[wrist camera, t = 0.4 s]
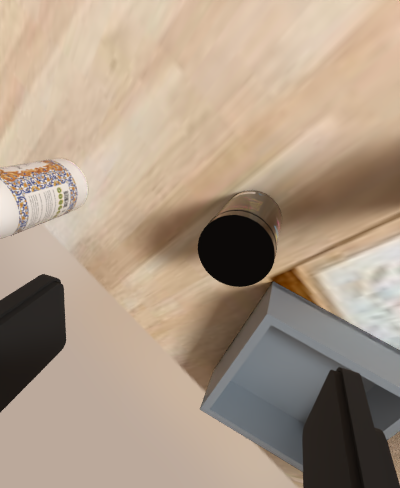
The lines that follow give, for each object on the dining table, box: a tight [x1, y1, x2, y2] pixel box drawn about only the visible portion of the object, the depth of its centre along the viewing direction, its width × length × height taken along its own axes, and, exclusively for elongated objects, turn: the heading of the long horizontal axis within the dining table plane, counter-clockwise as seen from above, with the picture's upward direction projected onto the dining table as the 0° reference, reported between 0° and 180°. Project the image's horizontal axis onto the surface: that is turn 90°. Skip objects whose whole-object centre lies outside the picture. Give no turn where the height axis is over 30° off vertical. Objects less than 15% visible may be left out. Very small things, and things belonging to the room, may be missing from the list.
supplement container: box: [198, 191, 282, 287], centre depth 31 cm, size 7×7×10 cm
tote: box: [200, 282, 400, 472], centre depth 38 cm, size 18×18×7 cm
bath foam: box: [0, 158, 88, 239], centre depth 33 cm, size 7×7×20 cm
